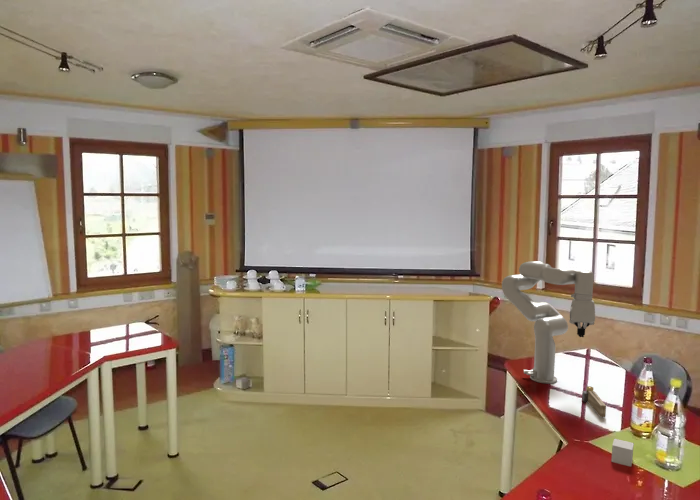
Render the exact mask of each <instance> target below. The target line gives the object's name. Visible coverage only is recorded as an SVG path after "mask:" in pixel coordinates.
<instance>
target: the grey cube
mask: <svg viewBox="0 0 700 500" xmlns="http://www.w3.org/2000/svg"><path fill="white" fill-rule="evenodd" d="M611 448H612V450H611V463H615V464H618V465H622V466H625V467H626V466H627V467H632V464H633V459H634V458H633V455H634V442H630V441H627V440H622V439H619V438H614V439H613V441H612V446H611Z"/></svg>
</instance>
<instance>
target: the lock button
mask: <svg viewBox="0 0 700 500" xmlns="http://www.w3.org/2000/svg"><path fill="white" fill-rule="evenodd" d="M585 391H586V392H588V391H591V392H592V391H594V387H593V386H592V385H591V386H588V385H587V386H586V390H585Z"/></svg>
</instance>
